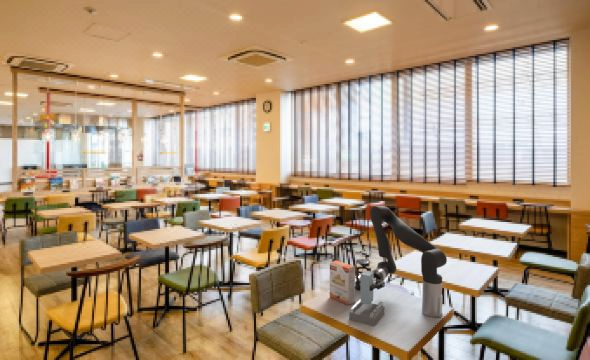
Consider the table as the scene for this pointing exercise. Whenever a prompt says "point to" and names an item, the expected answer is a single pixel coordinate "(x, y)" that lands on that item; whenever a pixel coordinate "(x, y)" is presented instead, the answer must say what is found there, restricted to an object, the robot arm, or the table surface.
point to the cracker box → (342, 282)
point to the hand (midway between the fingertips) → (365, 287)
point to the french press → (364, 264)
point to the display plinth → (366, 313)
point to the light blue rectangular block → (366, 287)
